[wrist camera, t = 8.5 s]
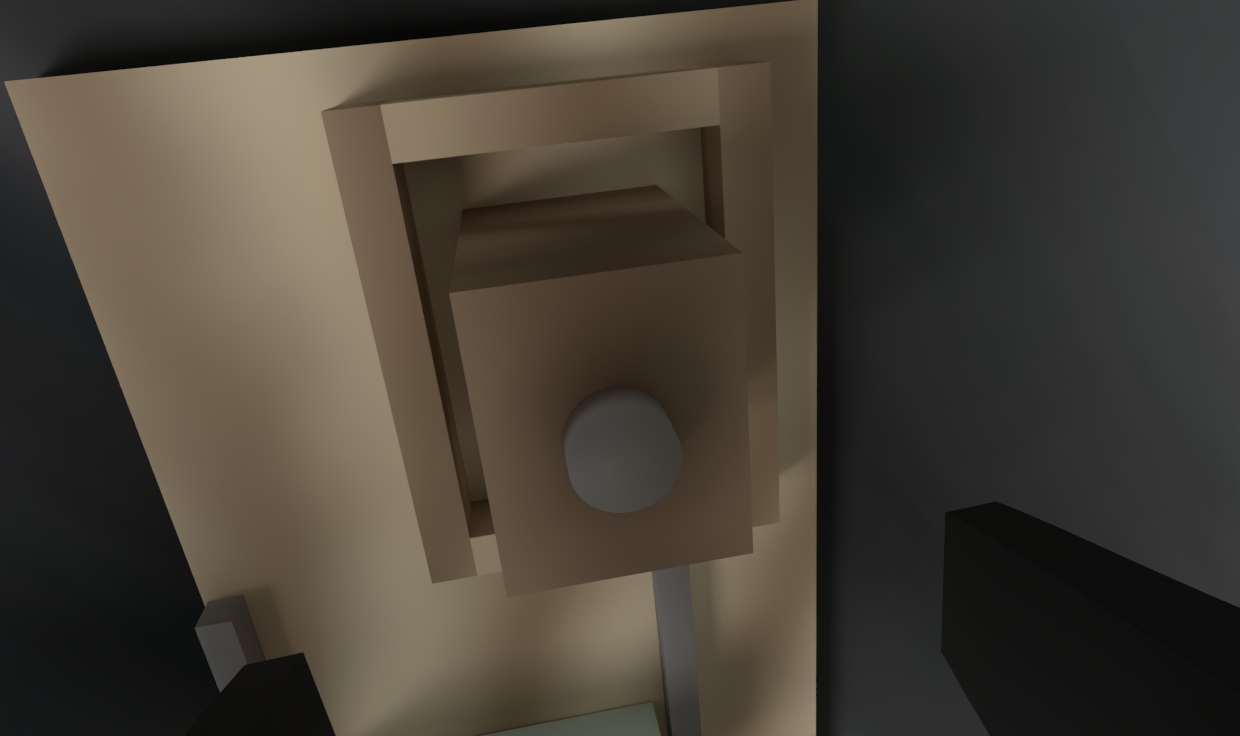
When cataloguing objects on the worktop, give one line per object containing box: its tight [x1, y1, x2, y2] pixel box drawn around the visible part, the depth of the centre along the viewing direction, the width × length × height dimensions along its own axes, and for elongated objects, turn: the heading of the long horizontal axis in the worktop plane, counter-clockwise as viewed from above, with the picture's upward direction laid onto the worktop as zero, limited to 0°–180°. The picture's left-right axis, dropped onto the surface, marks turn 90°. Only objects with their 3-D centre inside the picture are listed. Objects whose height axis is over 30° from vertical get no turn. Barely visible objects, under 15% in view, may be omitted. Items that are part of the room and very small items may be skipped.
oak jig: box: [5, 0, 818, 736], centre depth 18 cm, size 15×22×2 cm
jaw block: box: [449, 185, 753, 597], centre depth 14 cm, size 4×5×7 cm
